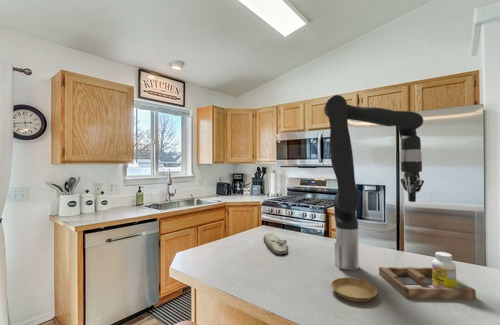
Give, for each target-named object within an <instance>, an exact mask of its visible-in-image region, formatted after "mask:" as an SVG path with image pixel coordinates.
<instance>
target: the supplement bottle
mask: <svg viewBox="0 0 500 325" xmlns="http://www.w3.org/2000/svg"><path fill="white" fill-rule="evenodd" d="M434 255H435V258H434V259H432V261H431V263H432V264H431V265H432V266H431V268H432V276H433V285H432V288H456V279H457V266H456V264H455V263H454V262H453V261H452V260H453V255H452V254H451V253H449V252H444V251H436V252H435V254H434Z"/></svg>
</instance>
